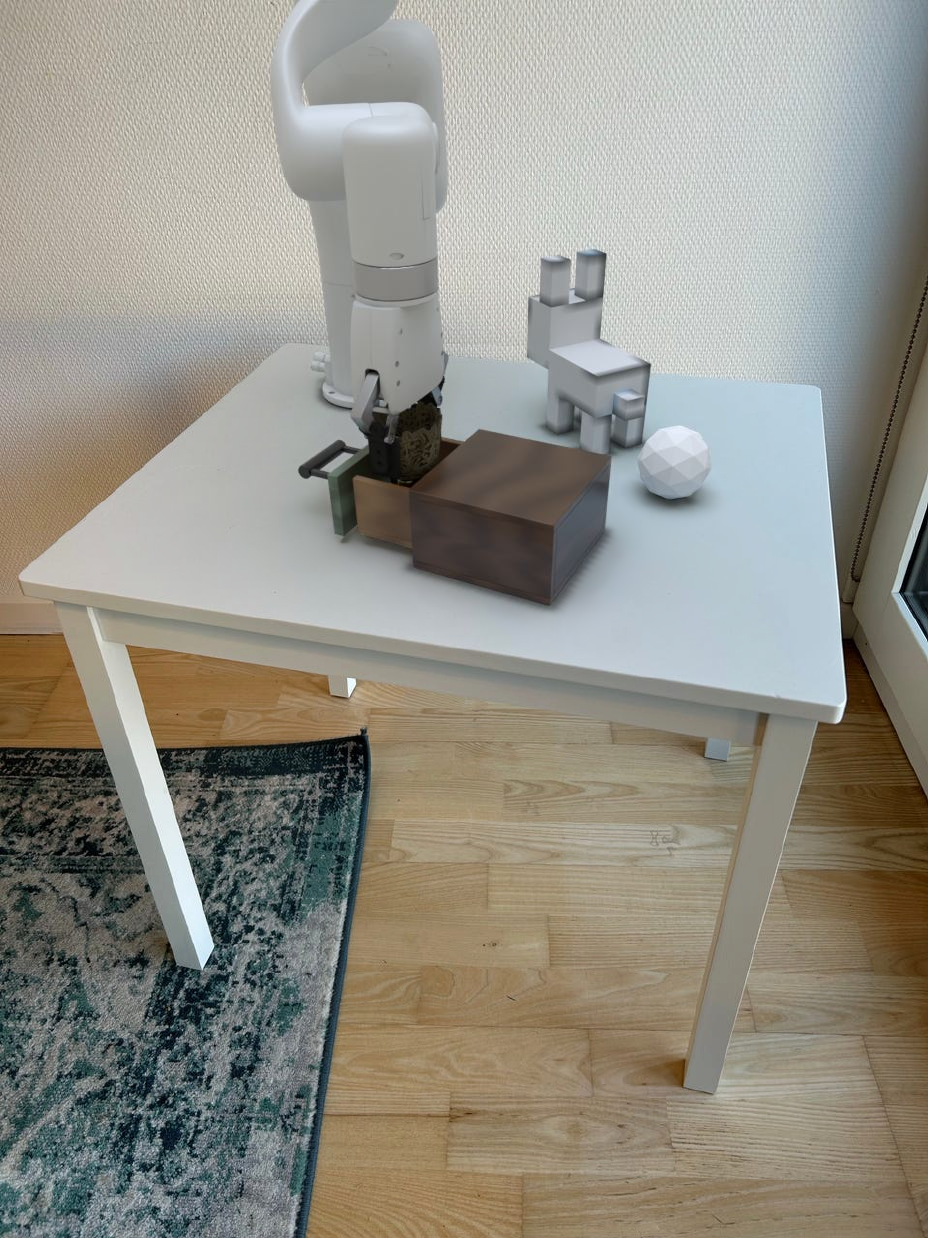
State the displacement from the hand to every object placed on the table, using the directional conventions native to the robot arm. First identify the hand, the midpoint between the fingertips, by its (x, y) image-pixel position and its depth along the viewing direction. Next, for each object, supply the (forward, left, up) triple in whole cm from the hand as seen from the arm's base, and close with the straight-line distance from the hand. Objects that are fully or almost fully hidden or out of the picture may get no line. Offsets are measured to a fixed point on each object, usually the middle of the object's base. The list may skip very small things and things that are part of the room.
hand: (407, 457), depth 87 cm
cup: (0, 0, -4) cm, 4 cm away
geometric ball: (+23, +18, -8) cm, 30 cm away
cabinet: (+12, 0, -8) cm, 14 cm away
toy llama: (+9, +29, -8) cm, 31 cm away
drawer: (-1, 0, -7) cm, 7 cm away
